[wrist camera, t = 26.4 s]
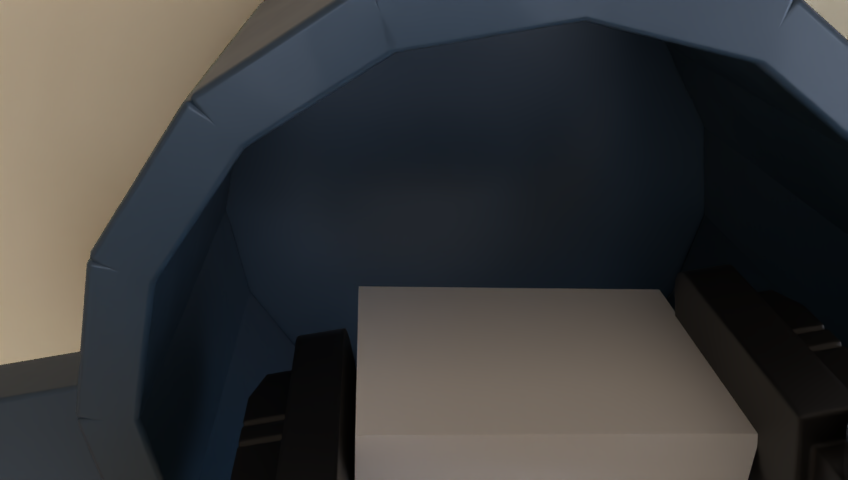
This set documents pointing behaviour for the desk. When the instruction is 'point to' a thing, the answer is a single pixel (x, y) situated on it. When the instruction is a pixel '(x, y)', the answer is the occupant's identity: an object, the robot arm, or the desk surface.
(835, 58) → the pot
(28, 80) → the desk surface
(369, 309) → the eraser
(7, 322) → the desk surface
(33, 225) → the desk surface
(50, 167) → the desk surface
